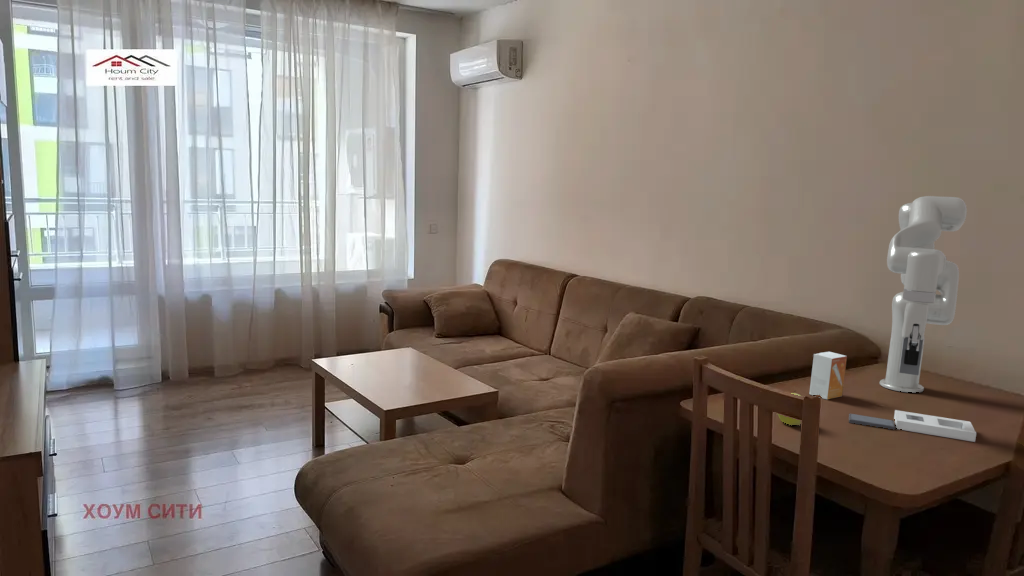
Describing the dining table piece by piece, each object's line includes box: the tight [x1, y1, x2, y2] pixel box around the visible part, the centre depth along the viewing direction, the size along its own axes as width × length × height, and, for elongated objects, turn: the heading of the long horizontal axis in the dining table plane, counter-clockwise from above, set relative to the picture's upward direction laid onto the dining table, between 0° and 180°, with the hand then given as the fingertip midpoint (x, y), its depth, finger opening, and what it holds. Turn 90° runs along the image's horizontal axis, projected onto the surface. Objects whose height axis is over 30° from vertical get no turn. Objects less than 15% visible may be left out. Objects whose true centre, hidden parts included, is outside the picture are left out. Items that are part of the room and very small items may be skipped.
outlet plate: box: [893, 409, 977, 443], centre depth 188 cm, size 10×18×3 cm, turn 64°
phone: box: [848, 413, 896, 431], centre depth 192 cm, size 6×11×1 cm, turn 65°
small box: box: [809, 351, 848, 400], centre depth 215 cm, size 8×6×13 cm
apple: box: [777, 390, 802, 427], centre depth 188 cm, size 8×8×10 cm
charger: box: [899, 336, 923, 375], centre depth 190 cm, size 4×4×10 cm
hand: (910, 361), depth 191 cm, fingers closed on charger, 4 cm apart
